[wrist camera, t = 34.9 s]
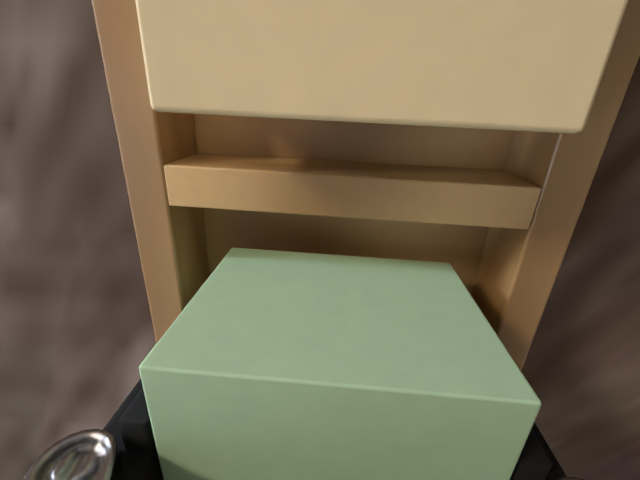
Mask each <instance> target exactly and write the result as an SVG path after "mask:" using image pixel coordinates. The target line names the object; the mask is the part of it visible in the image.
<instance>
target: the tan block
mask: <svg viewBox="0 0 640 480" xmlns="http://www.w3.org/2000/svg"><path fill="white" fill-rule="evenodd" d="M135 2H136V9H137V16H138V22H139V29H140V36H141V43H142V50H143V57H144V64H145V70H146V77H147V84H148V91H149V98H150V105H151V107H152V109H154V110H156V111H158V112H172V113H191V114H210V115H229V116H248V117H267V118H286V119H305V120H324V121H343V122H362V123H381V124H400V125H419V126H438V127H457V128H476V129H495V130H514V131H533V132H551V133H570V134H575V133H578V132H581V131H582V130H583V129H584V127H585V125H586V122H587V119H588V116H589V113H590V110H591V107H592V105H593V102H594V99H595V96H596V93H597V90H598V87H599V84H600V81H601V78H602V76H603V73H604V70H605V67H606V64H607V61H608V58H609V55H610V52H611V49H612V47H613V44H614V41H615V38H616V35H617V32H618V29H619V26H620V23H621V20H622V18H623V15H624V12H625V9H626V6H627V3H628V0H135Z"/></svg>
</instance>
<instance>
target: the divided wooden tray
mask: <svg viewBox="0 0 640 480" xmlns="http://www.w3.org/2000/svg"><path fill="white" fill-rule="evenodd" d="M91 1H92V6H93V11H94V16H95V22H96V27H97V32H98V37H99V43H100V48H101V53H102V59H103V64H104V69H105V74H106V80H107V85H108V90H109V95H110V101H111V106H112V111H113V117H114V122H115V127H116V132H117V138H118V143H119V148H120V153H121V159H122V164H123V169H124V175H125V180H126V185H127V190H128V196H129V201H130V206H131V211H132V217H133V222H134V227H135V232H136V238H137V243H138V248H139V254H140V259H141V264H142V269H143V275H144V280H145V285H146V290H147V296H148V301H149V306H150V312H151V317H152V322H153V327H154V333H155V338H156V343H158V341H159V340H160V339H161V338H162V336H163V335H164V334H165V332H166V331H167V330H168V329H169V327H170V326H171V325H172V324H173V322H174V321H175V320H176V318H177V317H178V316H179V315H180V313H181V312H182V311H183V310H184V308H185V307H186V306H187V304H188V303H189V302H190V301H191V299H192V298H193V297H194V295H195V294H196V293H197V292H198V290H199V289H200V288H201V287H202V285H203V284H204V283H205V281H206V280H207V279H208V278H209V276H210V275H211V274H212V272H213V271H214V270H215V269H216V267H217V266H218V265H219V264H220V262H221V261H222V260H223V258H224V257H225V256H226V255H227V253H228V252H229V251H230V249H231V248H246V249H260V250H274V251H288V252H302V253H316V254H330V255H344V256H358V257H372V258H386V259H400V260H414V261H428V262H442V263H450V264H451V266H452V267H453V269H454V270H455V272H456V273H457V275H458V276H459V278H460V279H461V281H462V282H463V284H464V285H465V287H466V288H467V290H468V291H469V293H470V294H471V296H472V297H473V299H474V301H475V302H476V304H477V305H478V307H479V308H480V310H481V311H482V313H483V314H484V316H485V317H486V319H487V320H488V322H489V323H490V325H491V326H492V328H493V329H494V331H495V332H496V334H497V336H498V337H499V339H500V340H501V342H502V343H503V345H504V346H505V348H506V349H507V351H508V352H509V354H510V355H511V357H512V358H513V360H514V361H515V363H516V364H517V366H518V367H519V369H520V371H521V370H522V367H523V365H524V362H525V359H526V357H527V354H528V351H529V349H530V346H531V344H532V341H533V338H534V336H535V333H536V330H537V328H538V325H539V322H540V320H541V317H542V314H543V312H544V309H545V306H546V304H547V301H548V298H549V296H550V293H551V290H552V288H553V285H554V282H555V280H556V277H557V274H558V272H559V269H560V266H561V264H562V261H563V258H564V256H565V253H566V251H567V248H568V245H569V243H570V240H571V237H572V235H573V232H574V229H575V227H576V224H577V221H578V219H579V216H580V213H581V211H582V208H583V205H584V203H585V200H586V197H587V195H588V192H589V189H590V187H591V184H592V181H593V179H594V176H595V173H596V171H597V168H598V165H599V163H600V160H601V157H602V155H603V152H604V150H605V147H606V144H607V142H608V139H609V136H610V134H611V131H612V128H613V126H614V123H615V120H616V118H617V115H618V112H619V110H620V107H621V104H622V102H623V99H624V96H625V94H626V91H627V88H628V86H629V83H630V80H631V78H632V75H633V72H634V70H635V67H636V64H637V62H638V59H639V57H640V0H628V3H627V6H626V9H625V12H624V15H623V18H622V20H621V23H620V26H619V29H618V32H617V35H616V38H615V41H614V44H613V47H612V49H611V52H610V55H609V58H608V61H607V64H606V67H605V70H604V73H603V76H602V78H601V81H600V84H599V87H598V90H597V93H596V96H595V99H594V102H593V105H592V107H591V110H590V113H589V116H588V119H587V122H586V125H585V127H584V129H583V130H582V131H581V132H578V133H575V134H570V133H551V132H533V131H514V130H495V129H476V128H457V127H438V126H419V125H400V124H381V123H362V122H343V121H324V120H305V119H286V118H267V117H248V116H229V115H210V114H191V113H172V112H158V111H156V110H154V109H152V107H151V105H150V98H149V91H148V84H147V77H146V70H145V64H144V57H143V50H142V43H141V36H140V29H139V22H138V16H137V9H136V2H135V0H91Z"/></svg>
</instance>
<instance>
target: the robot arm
mask: <svg viewBox="0 0 640 480" xmlns="http://www.w3.org/2000/svg"><path fill="white" fill-rule="evenodd" d="M23 480H164V479H163V475H162V470H161V466H160V461H159V457H158V452H157V448H156V443H155V439H154V434H153V430H152V425H151V421H150V417H149V412H148V408H147V403H146V399H145V394H144V390H143V385H142V381H141V379H140V380H139V382H138V383H137V384H136V386H135V387H134V389H133V390H132V391H131V393H130V394H129V395H128V397H127V398H126V399H125V401H124V402H123V403H122V405H121V406H120V407H119V409H118V410H117V411H116V413H115V414H114V416H113V417H112V418H111V420H110V421H109V422H108V424H107V425H106V426H105V428H104V429H103V430H99V429H90V430H83V431H80V432H77V433H74V434H71V435H69V436H67V437H65V438H63V439H61V440H59V441H58V442H56V443H55V444H54V445H52V446H51V447H49V448H48V449H47V450H45V451H44V452H43V453H42V454H41V455H40V456H39V457H38V459H37V460H36V461H35V462H34V463H33V464H32V466H31V467H30V469H29V471H28V472H27V474H26V475H25V477H24V479H23ZM510 480H584V479H580V478H577V477H567V476H566V475H565V473H564V471H563V470H562V468H561V466H560V465H559V463H558V461H557V459H556V458H555V456H554V454H553V453H552V451H551V449H550V448H549V446H548V444H547V443H546V441H545V439H544V438H543V436H542V434H541V432H540V431H539V429H538V427H537V426H536V424H535V422H534V424H533V426H532V428H531V431H530V433H529V435H528V438H527V440H526V442H525V445H524V447H523V449H522V452H521V454H520V456H519V459H518V461H517V463H516V466H515V468H514V470H513V473H512V475H511V477H510Z"/></svg>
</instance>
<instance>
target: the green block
mask: <svg viewBox="0 0 640 480" xmlns="http://www.w3.org/2000/svg"><path fill="white" fill-rule="evenodd" d="M139 372H140V376H141V381H142V385H143V390H144V394H145V399H146V403H147V408H148V412H149V417H150V421H151V425H152V430H153V434H154V439H155V443H156V448H157V452H158V457H159V461H160V466H161V470H162V475H163V479H164V480H510V477H511V475H512V473H513V470H514V468H515V466H516V463H517V461H518V459H519V456H520V454H521V452H522V449H523V447H524V445H525V442H526V440H527V438H528V435H529V433H530V431H531V428H532V426H533V424H534V421H535V419H536V417H537V414H538V412H539V410H540V407H541V401H540V399H539V398H538V396H537V395H536V393H535V392H534V390H533V389H532V387H531V386H530V384H529V383H528V381H527V380H526V378H525V377H524V375H523V374H522V372H521V371H520V369H519V367H518V366H517V364H516V363H515V361H514V360H513V358H512V357H511V355H510V354H509V352H508V351H507V349H506V348H505V346H504V345H503V343H502V342H501V340H500V339H499V337H498V336H497V334H496V332H495V331H494V329H493V328H492V326H491V325H490V323H489V322H488V320H487V319H486V317H485V316H484V314H483V313H482V311H481V310H480V308H479V307H478V305H477V304H476V302H475V301H474V299H473V297H472V296H471V294H470V293H469V291H468V290H467V288H466V287H465V285H464V284H463V282H462V281H461V279H460V278H459V276H458V275H457V273H456V272H455V270H454V269H453V267H452V266H451V264H450V263H442V262H428V261H414V260H400V259H386V258H372V257H358V256H344V255H330V254H316V253H302V252H288V251H274V250H260V249H246V248H231V249H230V251H229V252H228V253H227V255H226V256H225V257H224V258H223V260H222V261H221V262H220V264H219V265H218V266H217V267H216V269H215V270H214V271H213V272H212V274H211V275H210V276H209V278H208V279H207V280H206V281H205V283H204V284H203V285H202V287H201V288H200V289H199V290H198V292H197V293H196V294H195V295H194V297H193V298H192V299H191V301H190V302H189V303H188V304H187V306H186V307H185V308H184V310H183V311H182V312H181V313H180V315H179V316H178V317H177V318H176V320H175V321H174V322H173V324H172V325H171V326H170V327H169V329H168V330H167V331H166V332H165V334H164V335H163V336H162V338H161V339H160V340H159V341H158V343H157V344H156V345H155V347H154V348H153V349H152V350H151V352H150V353H149V354H148V355H147V357H146V358H145V359H144V361H143V362H142V363H141V364H140V366H139Z"/></svg>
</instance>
